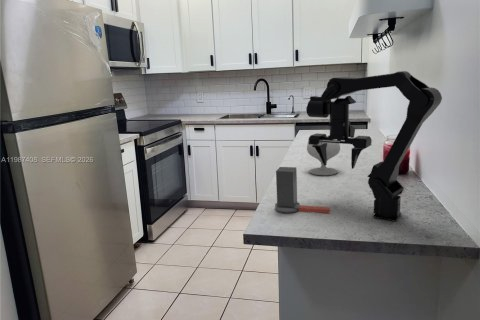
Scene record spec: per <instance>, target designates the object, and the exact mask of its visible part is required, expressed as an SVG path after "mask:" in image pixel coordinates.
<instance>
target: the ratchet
mask: <svg viewBox="0 0 480 320" xmlns="http://www.w3.org/2000/svg"><path fill="white" fill-rule="evenodd" d="M274 210H275V211H276V213H279V214H285V215H289V214H295V213H298V212H303V213H315V214H316V213H319V214H330V211H331V207H330V206H318V205H317V206H316V205H305V204H304V205H303V204H300V203H299V201H297V204H296V206H295V207H294V208H282V207H277V202H276V203H275V204H274Z"/></svg>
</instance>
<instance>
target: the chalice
mask: <svg viewBox="0 0 480 320" xmlns="http://www.w3.org/2000/svg"><path fill="white" fill-rule="evenodd" d="M326 136H327V137H328V136H329V135H326ZM333 140H337V139H333ZM324 143H327V142H324ZM306 152H307V153H308V154H309V155H310V156H311V157H313V158H315V159H316V160H318V161H319V162H320V165H321V166H320V167H314V168H311V169H310V170H309V174H312V175H316V176H331V175H332V176H333V175H336V174H337V173H338V172H339V171H338V170H337V169H336V168H332V167H327V165H326V166H324V164H323V162H322V160H321V158H320V156H319V154H318V152H317V150H316V149H315V147H312V144H309V142H308V141H307V145H306ZM340 152H341V143H327V148H326V153H327V162H328V161H329V160H331V159H332V158H334V157H335V156H337V155H338V154H340Z"/></svg>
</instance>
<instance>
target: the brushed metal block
mask: <svg viewBox="0 0 480 320" xmlns="http://www.w3.org/2000/svg"><path fill="white" fill-rule="evenodd" d="M297 174H298V173H297V167H294V166H279V168H278V169H276V171H275V179H276V182H275V183H276V203H277V207H282V208H294V207H295V206H296V204H297V202H298V184H297V183H298V180H297V179H298V177H297Z"/></svg>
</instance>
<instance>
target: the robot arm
mask: <svg viewBox="0 0 480 320" xmlns="http://www.w3.org/2000/svg"><path fill="white" fill-rule="evenodd" d="M326 84H327V85H326V88H325V90H324V91H323V92H322V94H321V96H317V95H311V96H309V100H308V102H307V105H306V108H305V109H306V115H307V116H308V117H310V118H322V119H323V118H325V119H327V118H328V117H329V122H327V123H328V124H327V125H328V127H329V135H327V134H326V133H313V134H311V135H309V137H308V141H307V143H308V142H309V144H312V147H315V149H316V150H317V152H318V154H319V156H320V158H321V160H322V162H323V164H324V166H326V167H327V165H328V164H327V163H328V161H327V153H326V148H327V143H340V144H343V145H352V146H353V147H352V148H351V157H350V159H351V163H350V165H351V170H352V169H354V168H355V166H356V163H357V161H358V159H359V156H360V154H361V153H362V151H363V150H366V149H367V148H369V147H370V146H372V141H373V140H372V137H370V136H369V135H357V136H355V132H356V127H354V126H352V125H351V121H350V120H349V119H350V118H349V116H350V112H349V111H350V107H349V106H350V105H353V104H356V103H357V102H356V100H355V99H354V98H353V97H352V96H351V94H355V93H357V92H360V91H365V90H366V91H367V90H375V89H384V88H385V89H386V88H392V87H396V88H397V89H398V90H399V92H400V93H401V94H402V95H403V97H405V98H406V99H407V100H408V101H409V102H408V104H407V108H406V117H405V120H404V122H403V124H402V126H401V128H400V130H399V132H398V134H397V136H396V137H395V138H394V141H393V143H392V145H391V147H390V149H389V150H388V153H387V155H386V156H385V159H384V160H383V161H380V162H378V163H375V164H373V165H372V168H371V172H370V173H369V174H368V175H367V178H368V180H367V184H368V187H369V188H370V190H371V192H372V195H373V198H374V200H373V218H375V219H376V218H377V219H380V220H388V221H392V222H397V221H398V220H399V218H400V217H401V215H402V212H401V198H402V197H401V195H402V194H403V191H404V189H405V188H404V186H403V185H402V184H401V183H400V182H399V180H398V176H399V172H400V171H399V170H400V165H401V164H402V161H403V160H404V158H405V156H406V154H407V152H408V150H409V149H410V147H411V145H413V144H412V143H413V141H414V140H415V138H416V135H418V133H419V131H420V130H421V127H422V125H423V124H424V123H425V121H426V120H428V118H429V117H430V116H431V115H432V114H433V113H434V111H436V109H437V108H438V107H439V106H440V104H441V103H442V100H443V97H442V94H441V91H439V89H437V88H435V87H430V86H428V85H427V84H426V83H424V82H423V81H422V80H420V79H418V78H416V77H415V76H413V75H412V74H411V73H410V72H409V71H408V70H407V71H405V70H402V71H396V72H392V73H387V74H386V73H385V74H378V75H371V76H365V77H354V76H338V77H332V78H330V79H329V80H328V82H327V83H326ZM340 97H342V98H340ZM343 97H344V98H343ZM332 100H333V101H332ZM327 136H328V137H327ZM333 139H337V140H333ZM324 142H327V143H324Z"/></svg>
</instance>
